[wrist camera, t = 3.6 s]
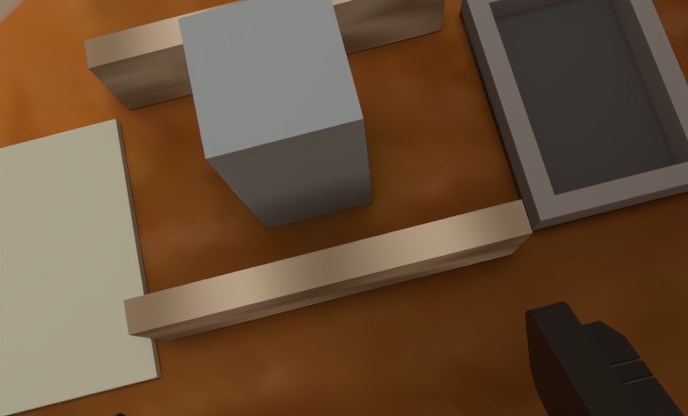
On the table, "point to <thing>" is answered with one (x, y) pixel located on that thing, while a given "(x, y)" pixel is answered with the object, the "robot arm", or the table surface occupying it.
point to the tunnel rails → (317, 267)
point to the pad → (68, 270)
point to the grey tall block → (278, 107)
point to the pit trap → (582, 102)
